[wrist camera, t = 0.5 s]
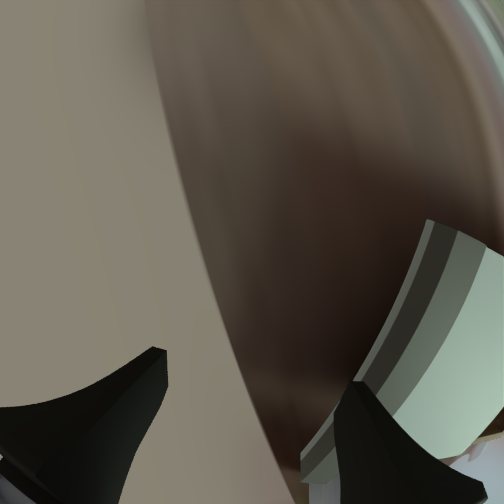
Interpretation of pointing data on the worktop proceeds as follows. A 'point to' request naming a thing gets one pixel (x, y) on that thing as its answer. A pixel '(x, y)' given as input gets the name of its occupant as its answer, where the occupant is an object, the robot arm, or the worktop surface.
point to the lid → (434, 351)
